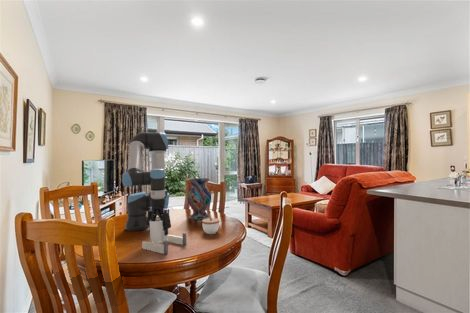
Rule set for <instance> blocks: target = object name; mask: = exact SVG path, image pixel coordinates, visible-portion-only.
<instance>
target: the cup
mask: <svg viewBox="0 0 470 313" xmlns="http://www.w3.org/2000/svg"><path fill="white" fill-rule="evenodd" d="M165 227H166V226H165ZM163 229H164V228H163V223H162V221H161V219H160V218H159V216H157V217H156V220H155V221H151V219H150V229H149V230H150V231H149V233H150V232H151V238H152V239H151V242H152V243H156V244H164V242H163V233H162V230H163Z"/></svg>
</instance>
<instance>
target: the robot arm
mask: <svg viewBox="0 0 470 313" xmlns="http://www.w3.org/2000/svg"><path fill="white" fill-rule="evenodd" d="M168 141H169V140H168V137H167V133H166V132H154V131H153V132H148V131H147V132H145V131H142V132H139V133H137V134H136V135H133V137H132V138H131V139H130V142H129V143H128V149H129V156H128V163H127V171H126V172H123V173H122V174H121V176H122V178H121V180H122V185H123V186H125V187H136V186H150V190H149V193H147V192H146V191H143V192H142V191H140V192H136V193H132V194H129V195H128V196H127V220H126V222H125V226H124V229H125V231H127V232H137V231H143V230H146V229H149V231H148V232H149V239H150V240H152V238H151V232H150V219H151V221H155V220H156V217H159V218H160V219H161V221H162V223H163V228H164V229H163V230H162V233H163V243H164V241H166V240H167V235H168V234H169V229H171V228H172V224H171V217H170V209H169V203H170V202H169V201H170V193H169V192H168V190H167V189H166V171H165V154H166V152H167V150H169V142H168ZM144 150H148V153H149V154H150V158H151V159H150V160H151V161H150V163H151V167H150V168H151V169H150V171H142V170H143V169H142V167H143V152H144ZM165 226H166V227H165Z"/></svg>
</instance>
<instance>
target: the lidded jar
mask: <svg viewBox="0 0 470 313" xmlns="http://www.w3.org/2000/svg"><path fill="white" fill-rule="evenodd" d="M201 223H202V224H201V225H202V230H203V231H204V232H205V234H207V235H214V234H215V235H216V233H217V232H218V230H219V228H220V218H217V217H211V216H210V217H209V218H206V219H201Z"/></svg>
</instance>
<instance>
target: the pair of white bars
mask: <svg viewBox="0 0 470 313" xmlns="http://www.w3.org/2000/svg"><path fill="white" fill-rule="evenodd" d="M169 243H171V244H177V245H182V246H187V232H182V236H179V235H174V234H169V233H168V235H167V240H166V241H164V242H163V244H162V243H158V244H156V243H152V241H147V240H143V241H141V248H143V250H146V249H147V251H150V250H151V252H155V253H158V254H162V253H163V254H162V255H168V254H169Z"/></svg>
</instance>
